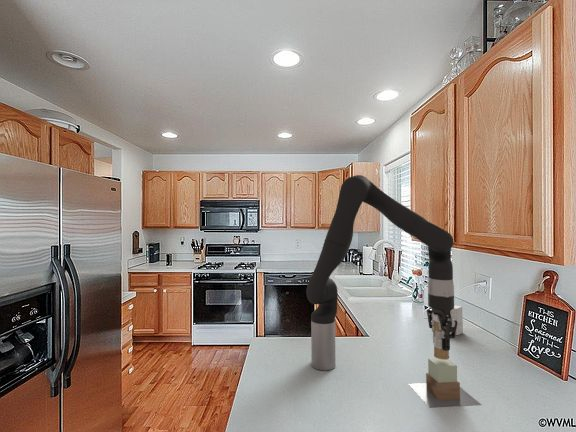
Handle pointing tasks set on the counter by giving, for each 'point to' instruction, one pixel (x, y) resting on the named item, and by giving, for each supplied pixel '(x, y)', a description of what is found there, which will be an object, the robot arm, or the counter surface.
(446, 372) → the sage top block
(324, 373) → the counter surface
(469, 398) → the slate board
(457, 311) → the small box
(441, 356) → the sprinkles bottle
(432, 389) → the walnut base block
